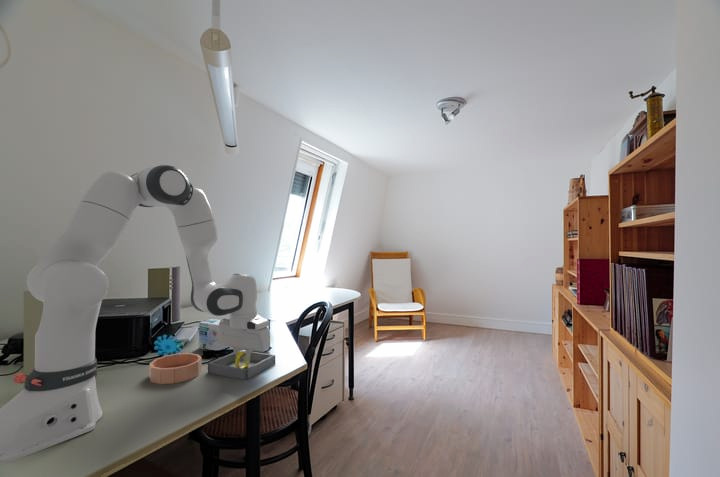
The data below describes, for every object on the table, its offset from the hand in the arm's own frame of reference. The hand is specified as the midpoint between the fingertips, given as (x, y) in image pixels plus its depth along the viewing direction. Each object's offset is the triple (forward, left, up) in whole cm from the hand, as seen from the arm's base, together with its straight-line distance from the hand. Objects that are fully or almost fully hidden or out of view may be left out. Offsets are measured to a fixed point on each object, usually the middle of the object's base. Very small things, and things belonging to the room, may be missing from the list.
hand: (242, 360), depth 120 cm
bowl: (-13, +16, -2) cm, 21 cm away
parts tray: (0, 0, -2) cm, 2 cm away
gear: (-1, +34, -3) cm, 34 cm away
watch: (0, 0, -3) cm, 3 cm away
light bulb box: (+13, +25, -3) cm, 28 cm away
